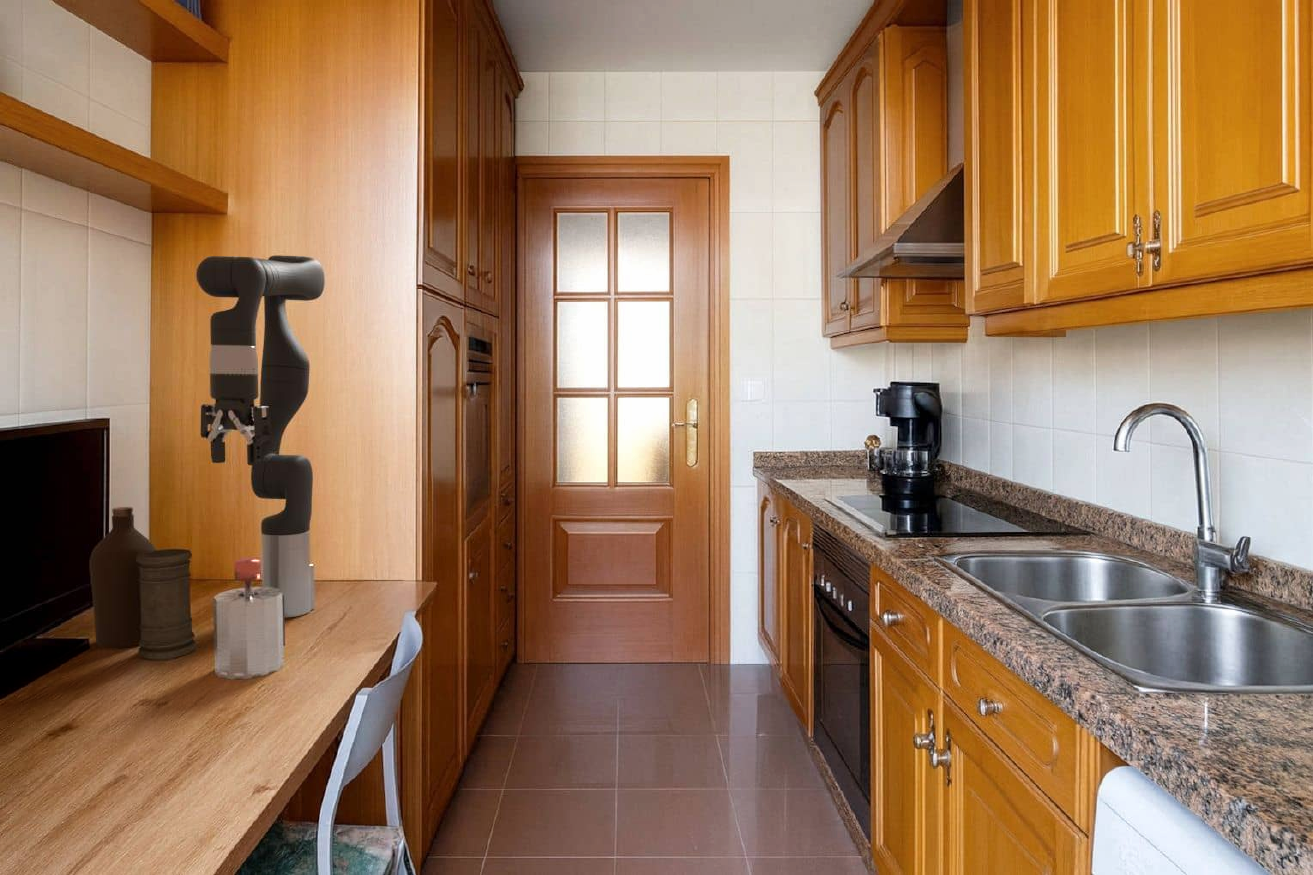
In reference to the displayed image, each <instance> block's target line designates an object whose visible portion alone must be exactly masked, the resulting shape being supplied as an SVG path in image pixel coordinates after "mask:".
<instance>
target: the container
mask: <svg viewBox="0 0 1313 875" xmlns="http://www.w3.org/2000/svg"><path fill="white" fill-rule="evenodd" d="M192 555H193V554H192V551H191V550H189V549H183V548H166V549H156V550H154V551H149V552H144V553H141V554H139V555H138V556H137V558H136V561H137V562H138V563H139V564H140V565H139V566H138V568H139V570H140V578H139V581H140V599H141V624H140V629H141V639H140V641H139V645H138V646H139V648H138V650H137V654H138V657H140V658H141V659H143V660H144V659H145V660H151V661H152V660H153V661H160V660H169V659H175V658H179V657H183V656H184V655H189V654H190V653H192V652H193V651H194V650H195V649H196V645H197V644H196V640H195V639H194V638H195V635H196V634H194V632H193V628H192V627H193V626H192V624H193V617H192V613H191V585H190V580H191V579H190V578H191V573H190V564H191V561H190V559H191V558H192V557H193V556H192Z"/></svg>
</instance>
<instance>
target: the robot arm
mask: <svg viewBox="0 0 1313 875" xmlns="http://www.w3.org/2000/svg"><path fill="white" fill-rule="evenodd" d="M195 273H196V274H195V275H196V276H195V277H196V281H197V284H198V286H199V287H200V289H201V290H202V291H203V292H204V293H205V294H207V295H208V296H211V297H214V298H234V299H235V298H237V301H236V303H235V305H234V306H233V307H232V308H229V309H227V310H226V309H225V310H221V311H219V310H218V311H217V312H214V313H213V314H212V315H210V323H209V324H210V325H209V327H210V353H209V395H210V398H211V399H212V400H215V403H206V404H205V403H203V404H202V405H200V406H201V407H200V437H201V438H203V439H207V440H208V441H209V442H210V458H211V462H212V463H213V464H223V463H225V462H226V442H225V438H226V437H227V436H228V434H229V433H230V432H232V430H234V431H238V432H239V434H240V435H242V436H243V437H244V439H245V440H246V442H247V444H246V459H247V460H246V461H247V462H246V464H247V465H248V466H250V467H251V468H250V469H251V471H250V482H251V484H250V485H251V488H252V492H253V493H254V495H255V497H257V498H259V499H264V500H265V499H266V500H285V503H284V509H283V510H281V511H280V512H278V513H275V514H272V515H270V516H266V517H264V518H263V519H262V520H261V522H260V525H261V526H260V532H261V533H260V534H261V535H260V537H261V540H260V541H261V580H262V584H261V585H262V586H261V587H272V588H278V589H279V590H281V591H282V596H284V615H285V619H286V618H294V617H300V616H304V615H305V614H308V613H309V612H311V610H313V609H315V608H316V607H315V604H316V602H315V566H314V564H312V563H311V541H310V540H311V534H310V533H311V531H310V530H311V528H310V527H311V526H310V525H311V519H312V512H313V511H312V510H313V508H312V507H313V488H314V487H313V484H314V481H313V480H314V479H313V478H314V476H313V467H312V464H311V461H310V460H309V458H308V457H306V456H304V455H299V454H280V450H281V443H282V439H283V435H284V434H285V431H286V429H287V427H288V425H289V424H290V423H291V421H292V419H293V418H294V417H295V415H296V414H297V413H298V411H299V410H300V408H301V407H302V405H303V404H304V403H305V401H306V398H307V397H308V394H309V393H308V392H309V384H310V368H311V367H310V365H311V364H310V360H309V358H308V356H307V353H306V352H305V350H304V348H303V346H302V345H301V343H300V342H299V340H298V338H297V337H296V335H295V334H294V331H293V330H292V328H291V326H290V323H289V320H288V316H287V310H286V301H301V302H302V301H304V302H305V301H315V300H317V299H320V297H321V296H322V294H323V292H324V290H325V289H324V288H325V283H326V282H325V281H326V280H325V272H324V269H323V265H322V264H321V263H320V262H319V261H318V260H317V259H315V258H314V257H309V256H303V255H302V256H298V255H270V256H269V257H268V259H265V258H258V257H257V258H256V257H255V258H254V257H251V256H228V255H227V256H221V255H219V256H218V255H217V256H216V255H213V256H208V257H206V258H204V259H203V260H202V261H201V262H200V263H199V264H198V266H197V269H196V272H195ZM262 299H263V302H264V303H263V304H264V305H263V307H264V312H263V313H264V329H263V330H264V331H263V344H262V345H263V346H262V347H263V348H262V357H261V368H260V388H259V361H258V360H259V358H258V353H257V347H256V346H257V343H256V342H257V339H256V338H257V337H256V328H257V327H256V325H257V318H258V314H259V309H260V304H261V301H262ZM259 390H260V391H259ZM259 394H260V395H259ZM258 398H259V405H256V404H255V400H256V399H258ZM208 425H209V426H210V427H209V426H208Z"/></svg>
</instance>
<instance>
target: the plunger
mask: <svg viewBox="0 0 1313 875" xmlns="http://www.w3.org/2000/svg"><path fill="white" fill-rule="evenodd" d="M233 564H234V565H233V566H234V567H233V568H234V570H233V571H234V573H233V574H234V580H235V581H242V582H243V581H244V588H245V597H250V596H252V589H251V587H252V581H253V580H258V579H260V578H262V558H260V557H244V558H242V557H241V558H238V559H235V560H234V562H233Z"/></svg>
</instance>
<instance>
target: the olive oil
mask: <svg viewBox="0 0 1313 875" xmlns="http://www.w3.org/2000/svg"><path fill="white" fill-rule="evenodd" d="M111 510H112V511H111V512H112V516H111V524H112V528H111V530H110V531H109V533H107V534H106V536H104V537H103V538H102V539H101V540H100V541H99V542H98V543H97V545H95V546H94V548H93V549H92V552H91V553H90V557H89V561H88V562H89V563H88V565H89V567H88V568H89V575H90V584H91V585H90V586H91V594H92V605H93V614H94V616H93V617H94V618H93V619H94V632H95V633H94V634H95V644H96V646H97V647H98V648H100V649H105V650H106V649H107V650H111V649H112V650H114V649H115V650H116V649H127V648H134V647H137V646H140V645H139V641H140V639H141V629H140V624H141V599H140V581H139V578H140V570H139V568H138V566H139V565H140V564H139V563H138V562H137V561H136V558H137V556H138V555H139V554H141V553H144V552H149V551H154V550H157V549H156V547H155V545H154V543H153V542H152V541H151V540H150V539H148V538H147V537H146V536H145V535H143V534H142V533H141V532H140V531H138V529H136V527H135V524H134V523H135V519H134V518H135V515H134V514H133V512H134V508H133V507H131V506H120V507H114V508H112V509H111Z"/></svg>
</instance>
